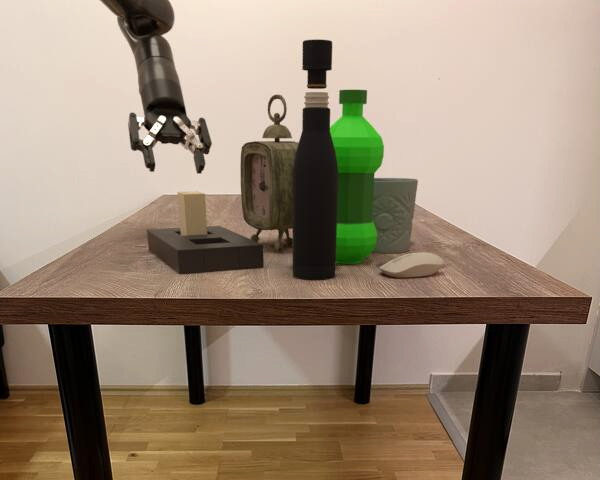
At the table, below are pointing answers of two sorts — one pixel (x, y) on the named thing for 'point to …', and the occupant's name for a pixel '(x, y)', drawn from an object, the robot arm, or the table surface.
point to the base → (205, 250)
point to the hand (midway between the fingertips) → (176, 169)
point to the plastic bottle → (355, 178)
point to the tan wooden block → (192, 213)
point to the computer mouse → (413, 265)
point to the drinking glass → (393, 213)
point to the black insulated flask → (315, 174)
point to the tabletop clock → (269, 180)
